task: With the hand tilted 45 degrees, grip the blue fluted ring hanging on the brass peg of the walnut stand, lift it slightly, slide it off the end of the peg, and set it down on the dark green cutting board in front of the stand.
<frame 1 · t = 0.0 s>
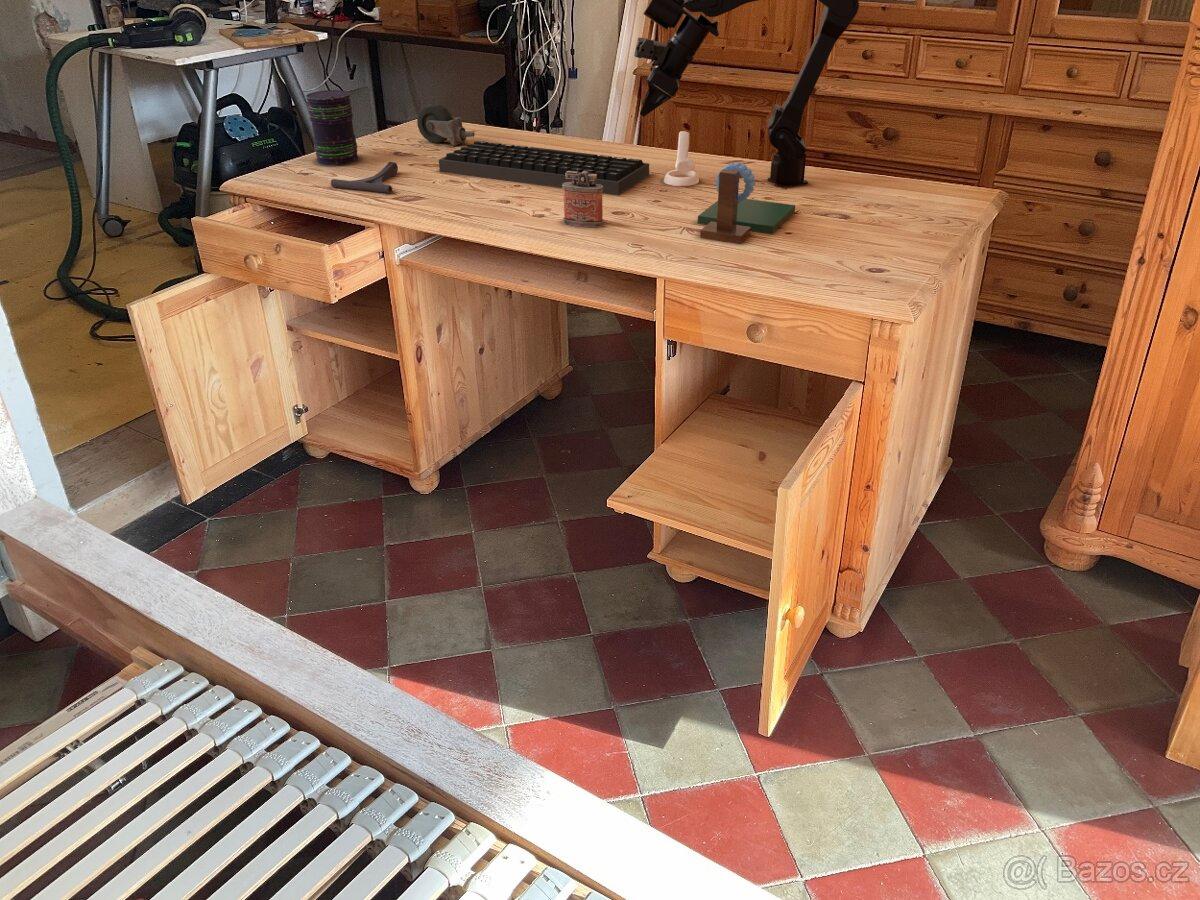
hand: (642, 110, 205), 15 cm above the table, tool tilted 35°, fingers open, 9 cm apart
dark grey branched pipe: (378, 182, 215), on the table
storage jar: (338, 161, 231), on the table
peg stand: (726, 235, 181), on the table
hook: (681, 182, 212), on the table
computer keyboard: (543, 174, 219), on the table
lighter: (583, 224, 189), on the table
caster wheel: (448, 143, 243), on the table
cutting board: (746, 217, 190), on the table
blue fluted ring: (734, 201, 181), point 5 cm above the table, touching peg stand
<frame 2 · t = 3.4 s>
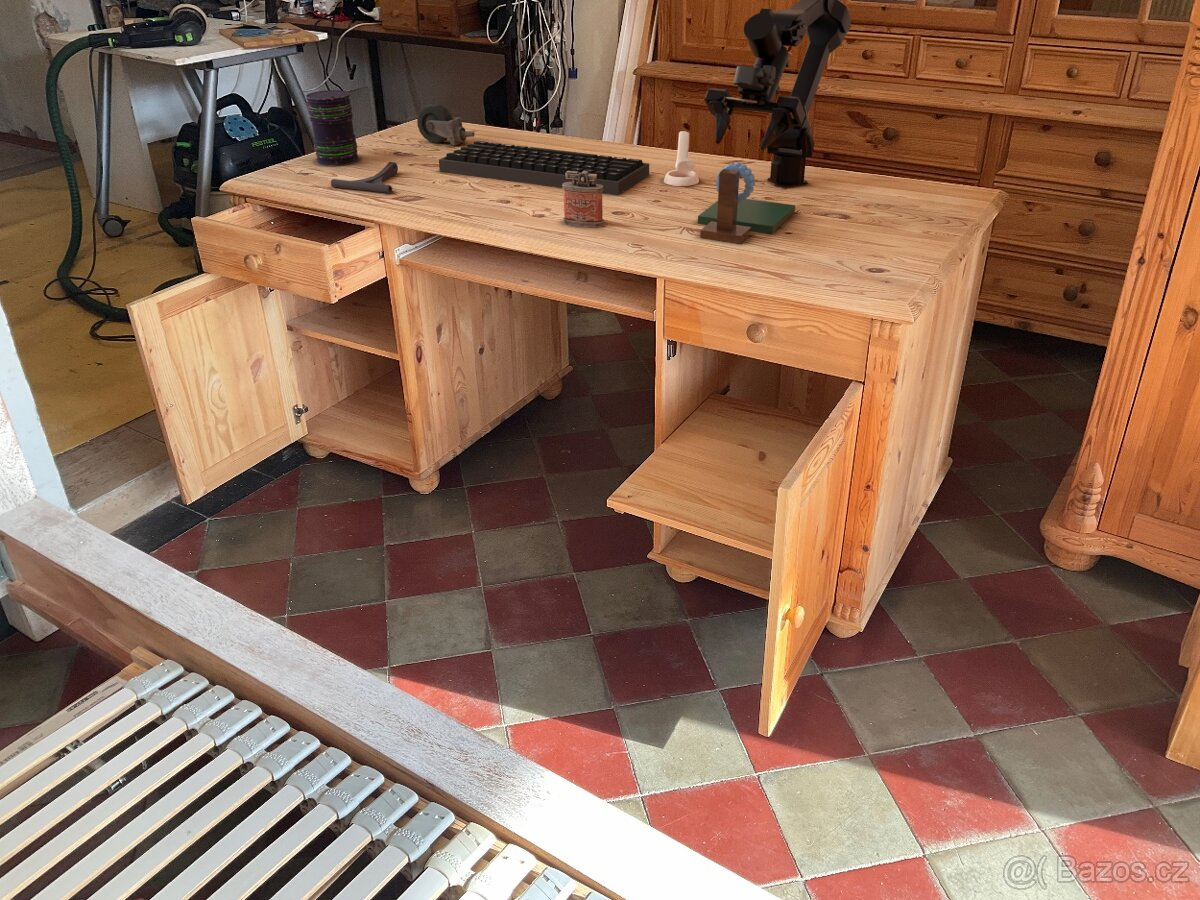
hand: (739, 146, 183), 14 cm above the table, tool tilted 45°, fingers open, 9 cm apart
nothing on the table moved.
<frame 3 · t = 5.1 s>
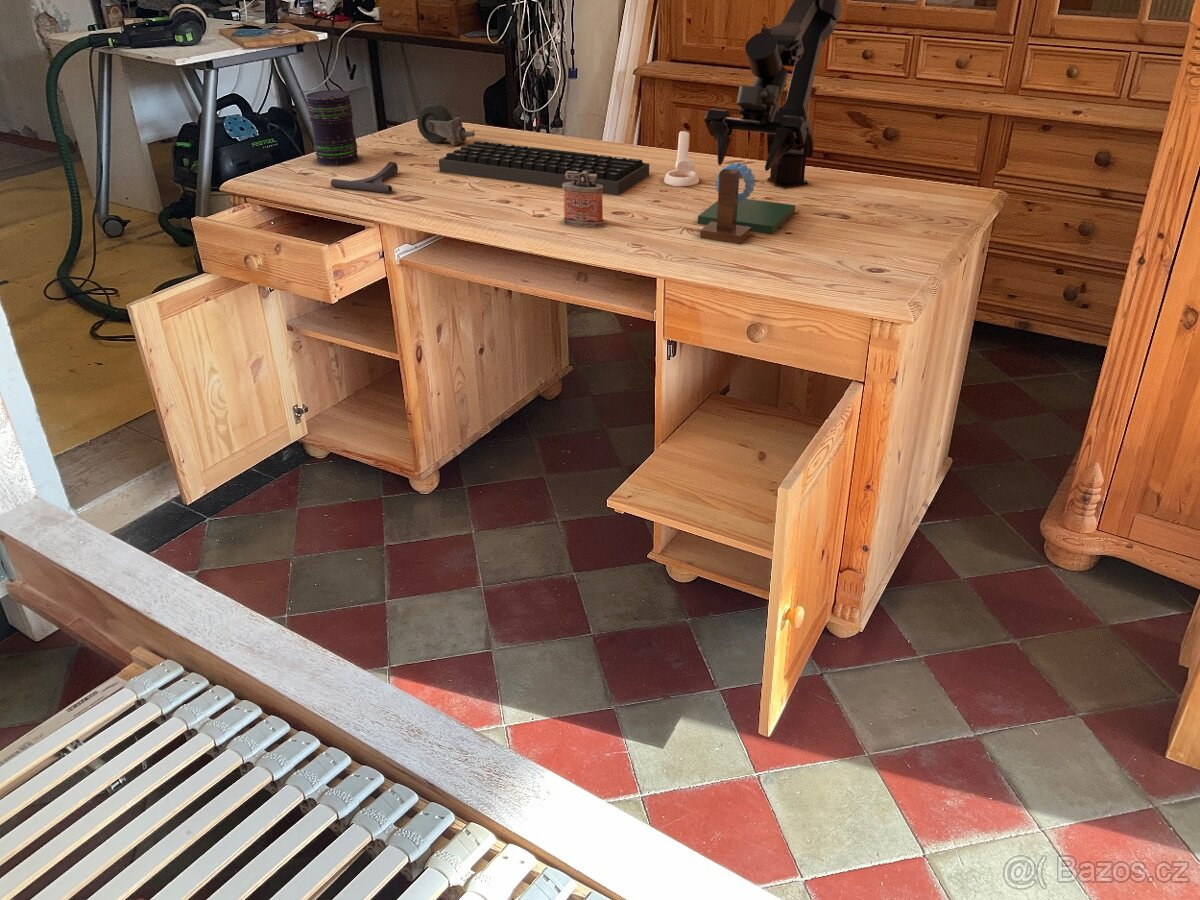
hand: (742, 166, 181), 11 cm above the table, tool tilted 45°, fingers open, 9 cm apart
nothing on the table moved.
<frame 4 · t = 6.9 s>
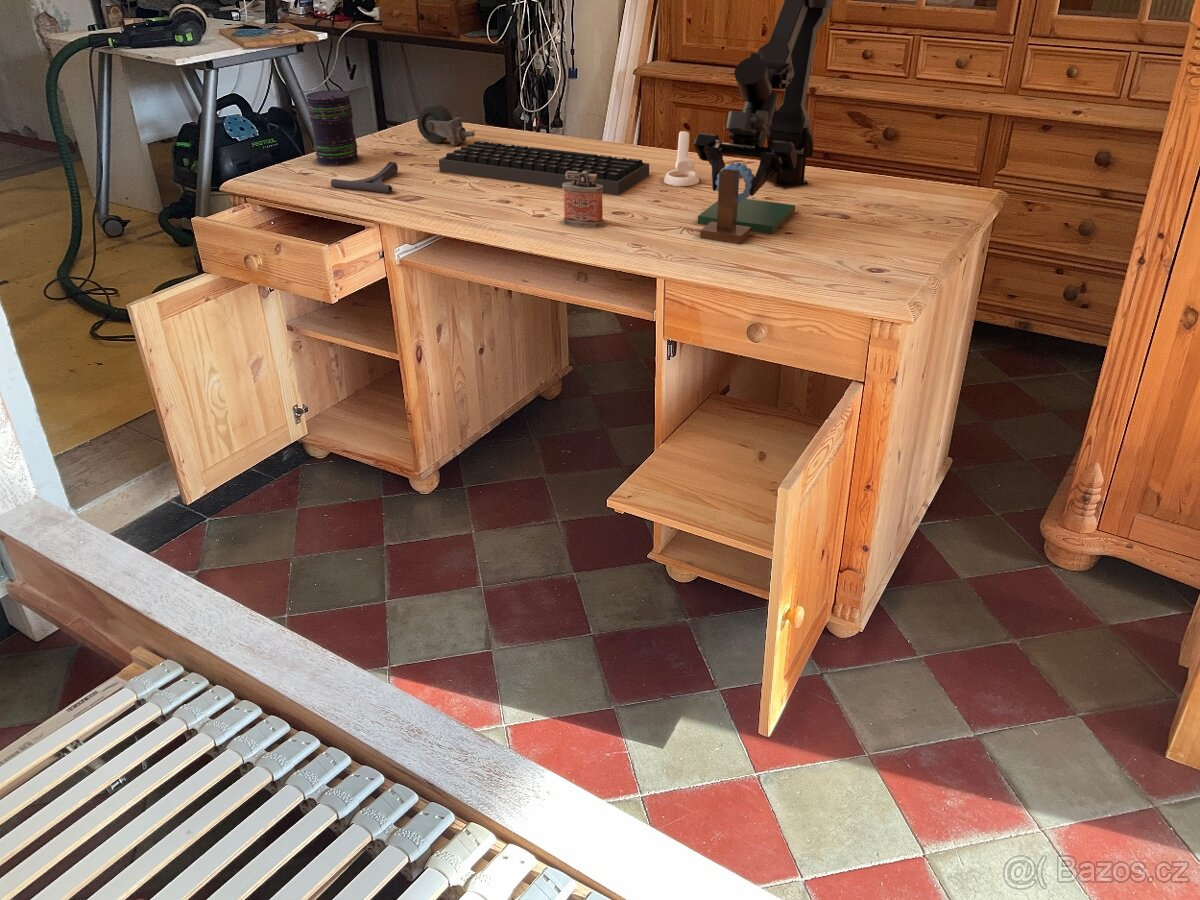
hand: (732, 192, 179), 8 cm above the table, tool tilted 45°, fingers closed on blue fluted ring, 7 cm apart
blue fluted ring: (734, 201, 181), point 6 cm above the table, touching gripper, peg stand
everything else where it was.
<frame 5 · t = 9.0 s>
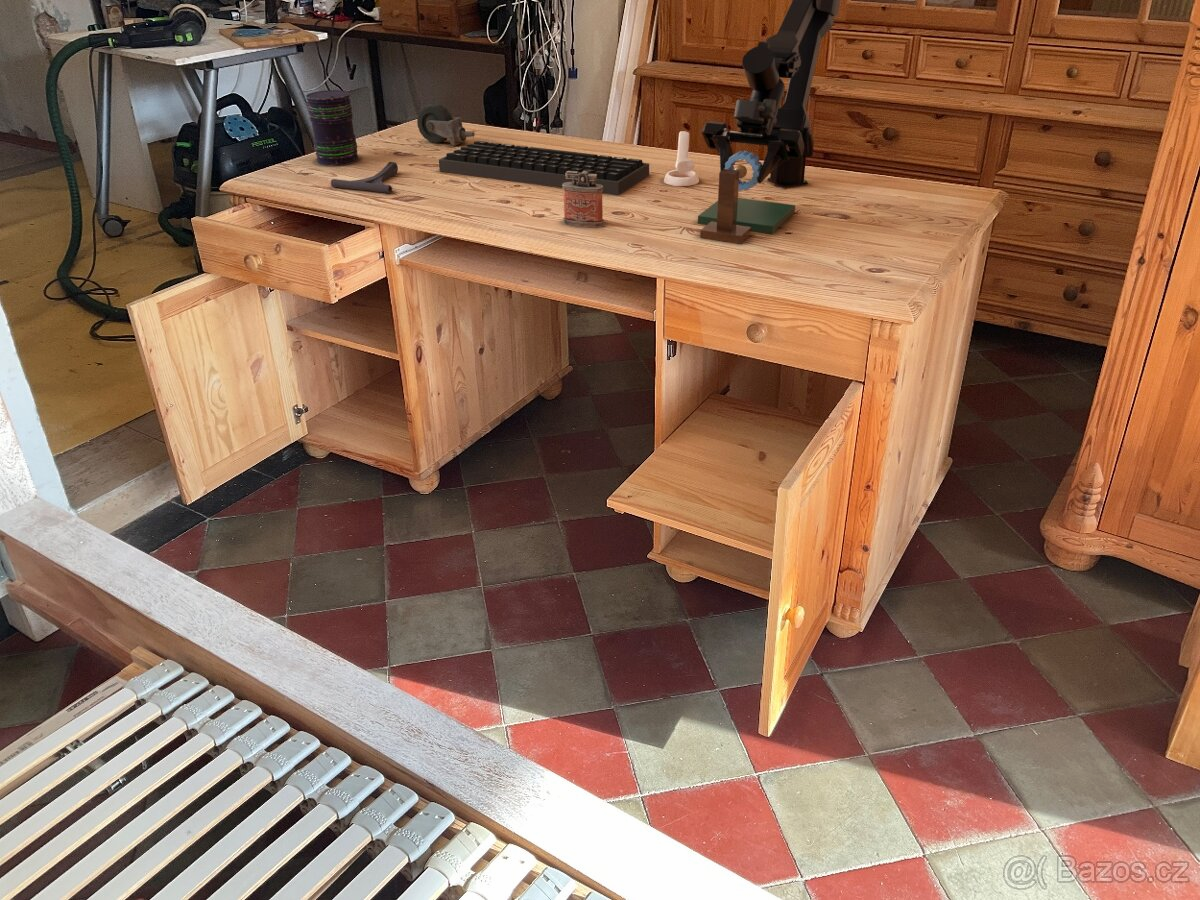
hand: (740, 180, 181), 9 cm above the table, tool tilted 45°, fingers closed on blue fluted ring, 7 cm apart
blue fluted ring: (742, 189, 183), point 7 cm above the table, touching gripper
everything else where it was.
when the fingers open (4 cm above the table, at t = 11.6 s): blue fluted ring stays where it is, resting on cutting board.
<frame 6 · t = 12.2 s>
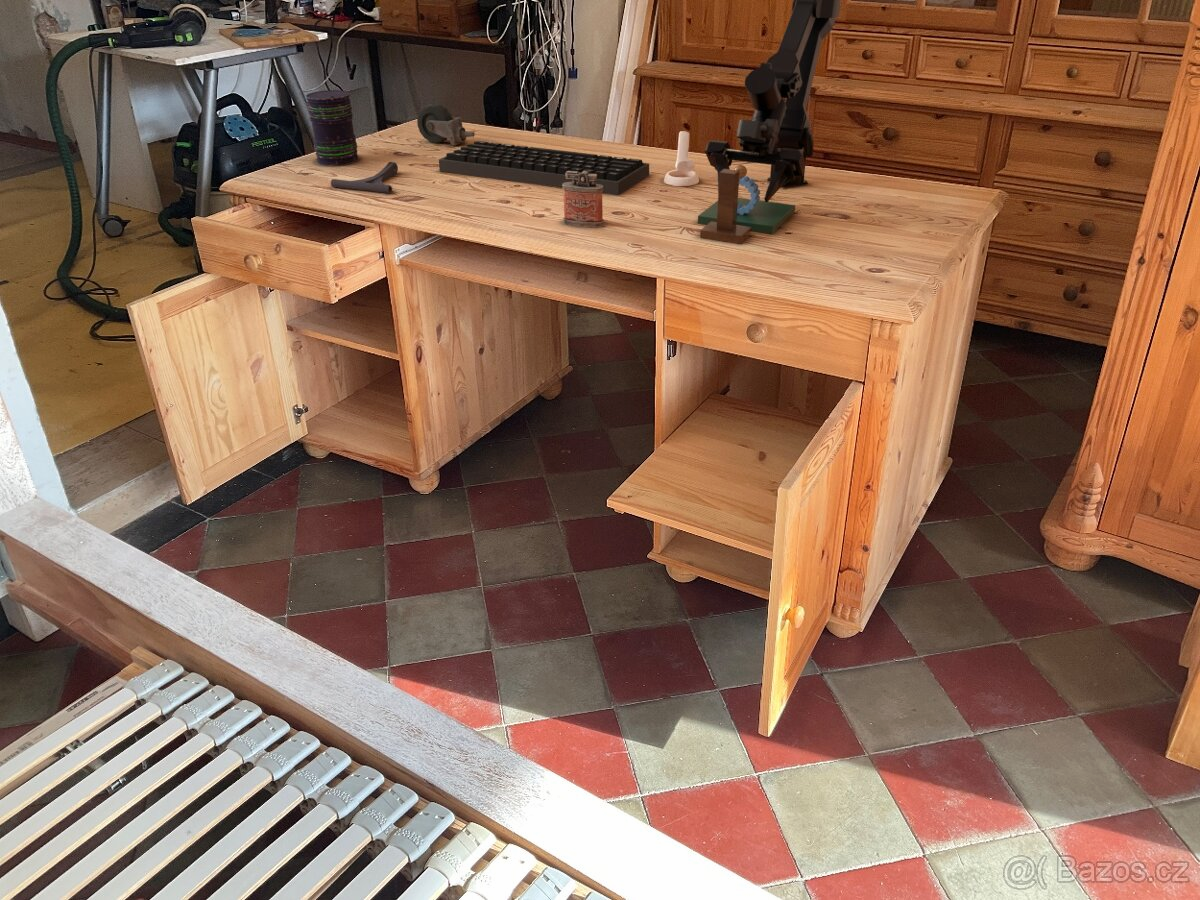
hand: (742, 197, 185), 5 cm above the table, tool tilted 45°, fingers open, 9 cm apart
blue fluted ring: (743, 213, 188), point 2 cm above the table, tilted 13°, touching cutting board
everything else where it was.
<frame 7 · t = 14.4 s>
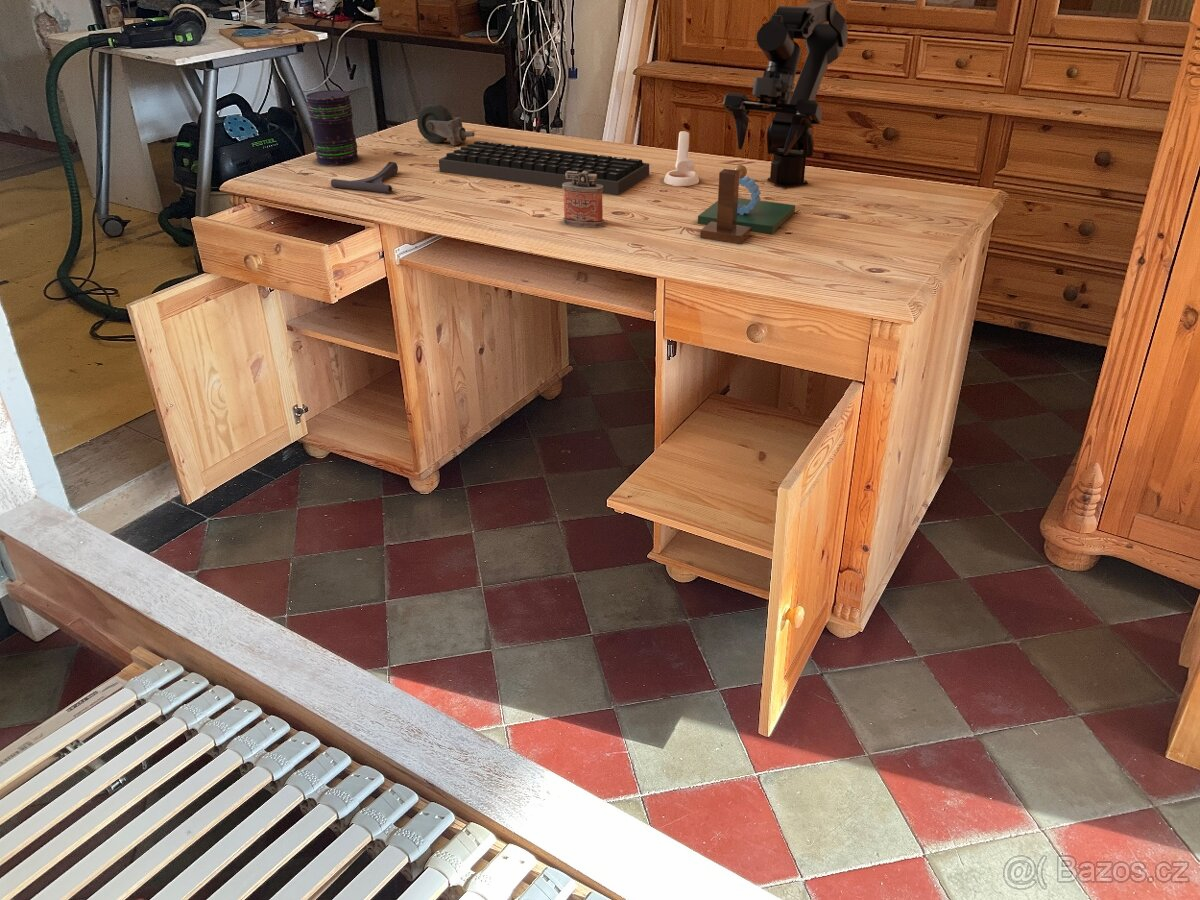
hand: (762, 151, 190), 11 cm above the table, tool tilted 30°, fingers open, 9 cm apart
nothing on the table moved.
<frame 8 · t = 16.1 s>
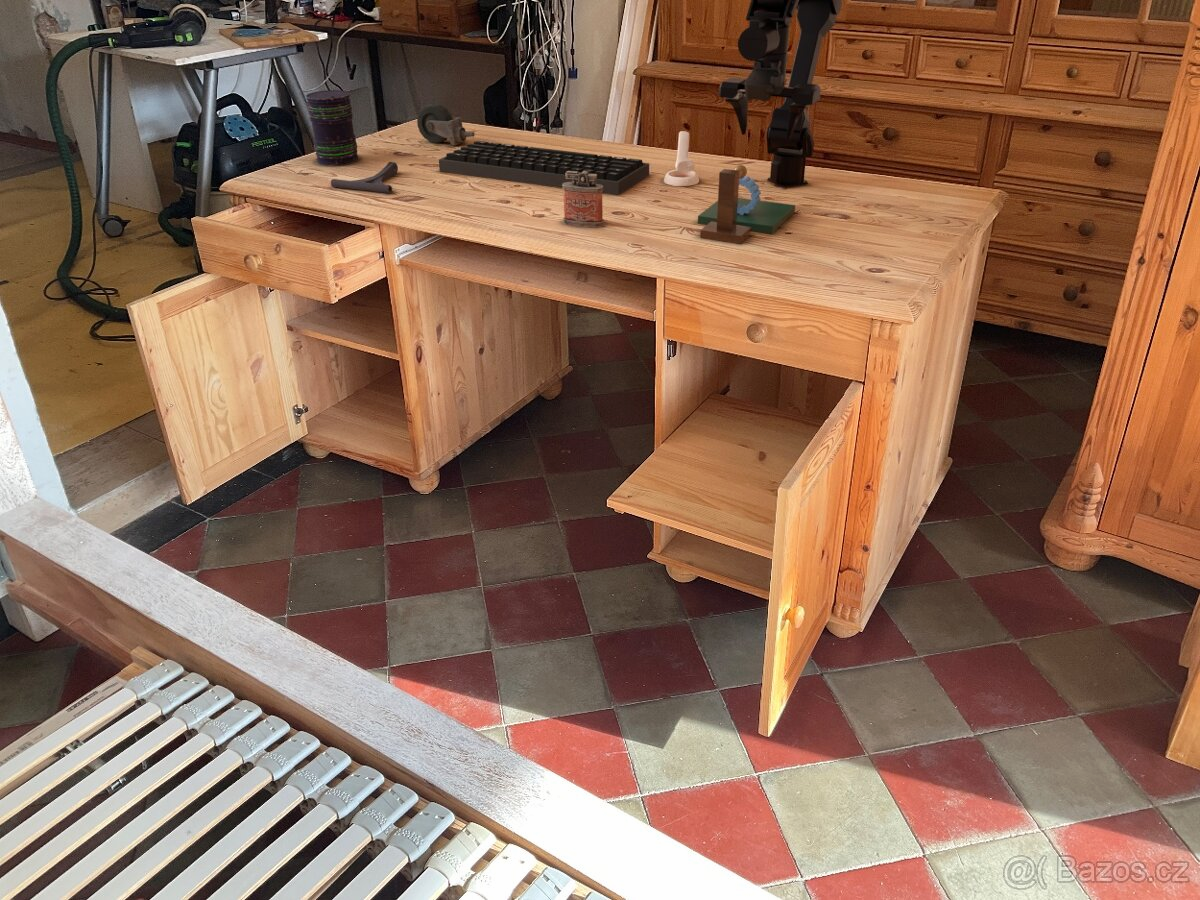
hand: (765, 136, 192), 13 cm above the table, tool pointing down, fingers open, 9 cm apart
nothing on the table moved.
at the end: blue fluted ring touching cutting board; the gripper is holding nothing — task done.
